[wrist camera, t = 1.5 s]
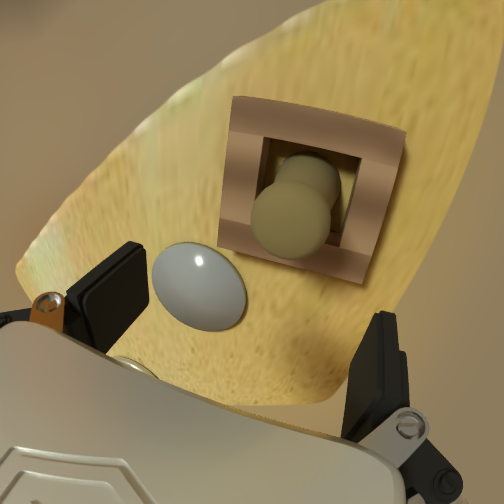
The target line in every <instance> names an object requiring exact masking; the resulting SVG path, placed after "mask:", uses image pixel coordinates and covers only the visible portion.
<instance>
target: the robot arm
mask: <svg viewBox="0 0 504 504" xmlns="http://www.w3.org/2000/svg"><path fill="white" fill-rule="evenodd" d="M66 293H67V295H66V296H65V297H63V295H62V294H60V293H58V292H46V293H43V294H41V295H39V296H38V297H37V298H36V299H35V300H34V302H33V304H32V308H27V309H21V310H15V311H8V312H2V313H0V504H468V502H467V500H466V499H464V500H463V499H462V497H461V495H460V494H461V492H462V489H463V481H462V478H461V475H460V474H459V472H458V471H457V470H456V469H455V468H454V467H453V466H452V465H451V464H450V463H449V462H448V460H446V458H445V457H444V456H443V455H442V454H441V453H440V452H439V451H438V450H437V449H436V448H435V447H434V446H433V445H432V444H431V442H430V441H429V440H428V439H427V436H428V434H429V423H428V421H427V419H426V417H425V416H424V415H423V414H422V413H421V412H420V411H418V410H417V409H414V408H410V401H409V383H408V369H407V357H406V353H405V352H404V351H400V350H399V344H398V332H397V322H396V315H395V314H394V313H390V312H386V311H382V310H381V311H380V312H379V314H378V313H375V314H374V315H373V317H372V320H371V322H370V324H369V326H368V328H367V330H366V332H365V335H364V337H363V339H362V341H361V343H360V345H359V347H358V349H357V351H356V353H355V355H354V357H353V359H352V361H351V364H350V368H349V377H348V387H347V395H346V403H345V411H344V418H343V425H342V431H341V438H339V437H335V436H331V435H328V434H324V433H321V432H316V431H312V430H309V429H304V428H301V427H297V426H294V425H290V424H286V423H283V422H279V421H276V420H272V419H269V418H266V417H262V416H259V415H255V414H252V413H249V412H246V411H243V410H240V409H237V408H234V407H231V406H228V405H225V404H222V403H219V402H216V401H214V400H211V399H208V398H205V397H203V396H200V395H197V394H195V393H192V392H189V391H187V390H184V389H182V388H179V387H177V386H174V385H172V384H169V383H167V382H165V381H162V380H160V379H157V378H156V377H155V376H154V375H153V374H152V373H151V372H150V371H149V370H147V369H146V368H144V367H143V366H142V365H140V364H138V363H137V362H135V361H132V360H130V359H127V358H124V357H113V358H112V357H110V356H107V355H105V354H106V353H107V352H108V351H109V350H110V348H111V347H112V346H113V345H114V344H115V343H116V341H117V340H118V339H119V338H120V337H121V336H122V335H123V333H124V332H125V331H126V330H127V329H128V328H129V327H130V325H131V324H132V323H133V322H134V321H135V320H136V319H137V317H138V316H139V315H140V314H141V313H142V312H143V311H144V310H145V308H146V307H147V306H148V304H149V289H148V276H147V261H146V250H145V249H144V248H143V245H142V244H139V243H136V242H132V241H128V242H127V243H125V244H124V245H123V246H122V247H120V248H119V249H118V250H116V251H115V252H114V253H112V254H111V255H110V256H109V257H107V258H106V259H105V260H104V261H102V262H101V263H100V264H98V265H97V266H96V267H95V268H93V269H92V270H91V271H90V272H89V273H87V274H86V275H85V276H84V277H82V278H81V279H80V280H79V281H77V282H76V283H75V284H74V285H73V286H71V287H70V288H69V289H68V290H67V291H66Z"/></svg>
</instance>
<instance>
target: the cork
mask: <svg viewBox="0 0 504 504" xmlns="http://www.w3.org/2000/svg"><path fill="white" fill-rule="evenodd" d="M340 189H341V180H340V176H339V172H338V171H337V169H336V167H335V166H334V164H333V163H332V162H331V161H330V160H328V159H327V158H326V157H325V156H323V155H320V154H318V153H316V152H307V151H304V152H299V153H295V154H293V155H291V156H290V157H288V158H286V159H285V161H284V162H283V163H282V164H281V165H280V167H279V169H278V172H277V175H276V177H275V180H274V183H273V184H272V185H270V186H268V187H267V188H265V189H264V190H263V191H262V192H261V194H260V195H259V196H258V197H257V198H256V200H255V202H254V204H253V207H252V210H251V229H252V232H253V235H254V237H255V239H256V240H257V242H258V243H259V245H260V246H261V247H262V248H263V249H264V250H266V251H267V252H268V253H269V254H271V255H273V256H276V257H278V258H280V259H287V260H298V259H304V258H306V257H308V256H310V255H312V254H314V253H315V252H316V251H317V250H318V249H319V248H320V247H321V246H322V245H323V244H324V243H325V241H326V239H327V237H328V235H329V232H330V224H331V214H330V210H331V209H332V207H333V206H334V204H335V202H336V200H337V198H338V196H339V194H340Z"/></svg>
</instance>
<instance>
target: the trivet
mask: <svg viewBox="0 0 504 504" xmlns="http://www.w3.org/2000/svg"><path fill="white" fill-rule="evenodd" d="M152 282H153V287H154V290H155V292H156V295H157V297H158V299H159V300H160V302H161V303H162V305H163V306H164V307H165V309H166V310H167V311H168V312H169V313H170V314H171V315H172V316H174V317H175V318H176V319H177V320H179V321H180V322H182V323H184V324H186V325H188V326H190V327H192V328H195V329H198V330H203V331H221V330H224V329H227V328H229V327H231V326H232V325H234V324H235V323H236V322H237V321H238V320H239V318H240V317H241V315H242V313H243V311H244V309H245V306H246V299H247V295H246V288H245V284H244V282H243V279H242V277H241V275H240V273H239V272H238V270H237V269H236V268H235V266H234V265H233V264H232V263H231V262H230V261H229V260H228V259H227V258H226V257H225V256H223V255H222V254H221V253H219V252H218V251H216V250H214V249H212V248H210V247H208V246H205V245H202V244H199V243H193V242H182V243H177V244H174V245H172V246H170V247H168V248H167V249H166V250H164V251H163V252H162V253H161V254H160V255H159V256H158V257H157V259H156V261H155V263H154V265H153V269H152Z"/></svg>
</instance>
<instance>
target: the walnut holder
mask: <svg viewBox="0 0 504 504" xmlns="http://www.w3.org/2000/svg"><path fill="white" fill-rule="evenodd" d="M406 133H407V132H405V131H403V130H401V129H398V128H395V127H392V126H388V125H385V124H381V123H378V122H374V121H370V120H367V119H363V118H359V117H355V116H351V115H347V114H342V113H338V112H334V111H329V110H324V109H320V108H315V107H310V106H304V105H299V104H293V103H288V102H282V101H275V100H269V99H262V98H255V97H247V96H233V99H232V107H231V115H230V123H229V132H228V141H227V150H226V159H225V168H224V178H223V187H222V197H221V208H220V218H219V229H218V241H217V247H221V248H225V249H229V250H232V251H236V252H240V253H244V254H248V255H251V256H255V257H259V258H263V259H267V260H270V261H274V262H278V263H282V264H286V265H290V266H293V267H297V268H301V269H305V270H309V271H313V272H316V273H320V274H324V275H328V276H332V277H336V278H340V279H343V280H347V281H351V282H355V283H359V284H362V282H363V279H364V277H365V274H366V271H367V268H368V265H369V263H370V260H371V257H372V254H373V251H374V248H375V245H376V242H377V239H378V236H379V233H380V229H381V226H382V223H383V220H384V216H385V213H386V210H387V206H388V203H389V200H390V196H391V193H392V189H393V185H394V182H395V178H396V174H397V170H398V166H399V162H400V158H401V154H402V150H403V146H404V142H405V137H406ZM271 138H275V139H280V140H285V141H290V142H295V143H300V144H305V145H309V146H314V147H318V148H323V149H327V150H331V151H336V152H340V153H344V154H348V155H352V156H356V157H359V162H358V166H357V170H356V175H355V179H354V183H353V187H352V191H351V195H350V199H349V203H348V207H347V211H346V215H345V219H344V222H343V226H342V230H341V234H339V233H336V232H332V231H330V232H329V235H328V237H327V239H326V241H325V243H324V244H323V245H322V246H321V247H320V248H319V249H318V250H317V251H316V252H315V253H314V254H312V255H310V256H308V257H306V258H304V259H298V260H287V259H280V258H278V257H276V256H273V255H271V254H269V253H268V252H267V251H266V250H264V249H263V248H262V247H261V246H260V245H259V243H258V242H257V240H256V239H255V237H254V235H253V232H252V229H251V210H252V207H253V204H254V202H255V200H256V198H257V197H258V196H259V195H260V194H261V192H262V191H263V189H264V182H265V176H266V169H267V162H268V156H269V149H270V142H271Z"/></svg>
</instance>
